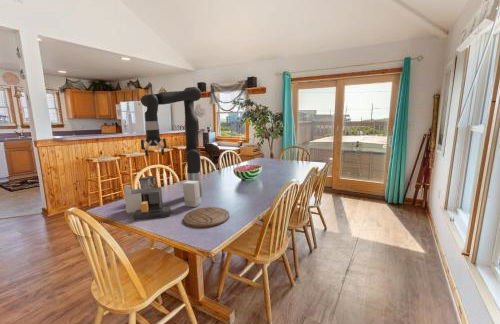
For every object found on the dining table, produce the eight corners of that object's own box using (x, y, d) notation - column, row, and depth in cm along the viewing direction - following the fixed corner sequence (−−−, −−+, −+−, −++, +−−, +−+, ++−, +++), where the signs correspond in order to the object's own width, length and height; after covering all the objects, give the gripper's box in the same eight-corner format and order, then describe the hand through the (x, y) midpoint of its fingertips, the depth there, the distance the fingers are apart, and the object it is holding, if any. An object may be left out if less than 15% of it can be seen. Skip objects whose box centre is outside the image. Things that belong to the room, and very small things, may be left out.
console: (170, 211, 150) (170, 206, 150) (169, 216, 143) (168, 211, 142) (136, 214, 146) (136, 210, 146) (133, 220, 139) (133, 215, 138)
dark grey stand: (162, 204, 162) (161, 187, 160) (160, 211, 150) (158, 192, 148) (133, 207, 158) (130, 189, 156) (128, 215, 147) (125, 195, 144)
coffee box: (149, 197, 178) (147, 175, 175) (157, 197, 177) (155, 175, 174) (141, 201, 169) (139, 178, 166) (150, 202, 168) (147, 179, 165)
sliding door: (143, 210, 150) (140, 184, 147) (142, 211, 149) (139, 185, 145) (127, 212, 148) (123, 185, 145) (126, 213, 147) (122, 186, 144)
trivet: (211, 207, 157) (210, 204, 157) (238, 217, 140) (238, 214, 140) (175, 219, 139) (174, 216, 139) (201, 233, 122) (201, 229, 122)
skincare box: (201, 204, 162) (199, 180, 159) (195, 207, 156) (193, 183, 153) (189, 202, 164) (188, 180, 161) (184, 206, 158) (182, 182, 155)
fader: (148, 209, 146) (147, 201, 145) (147, 212, 141) (146, 203, 140) (143, 209, 145) (142, 201, 144) (141, 212, 141) (140, 204, 140)
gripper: (165, 128, 154) (167, 154, 157) (140, 129, 151) (143, 155, 154) (164, 128, 146) (166, 156, 149) (138, 129, 143) (141, 157, 146)
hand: (155, 155), depth 151 cm, fingers open, 8 cm apart
